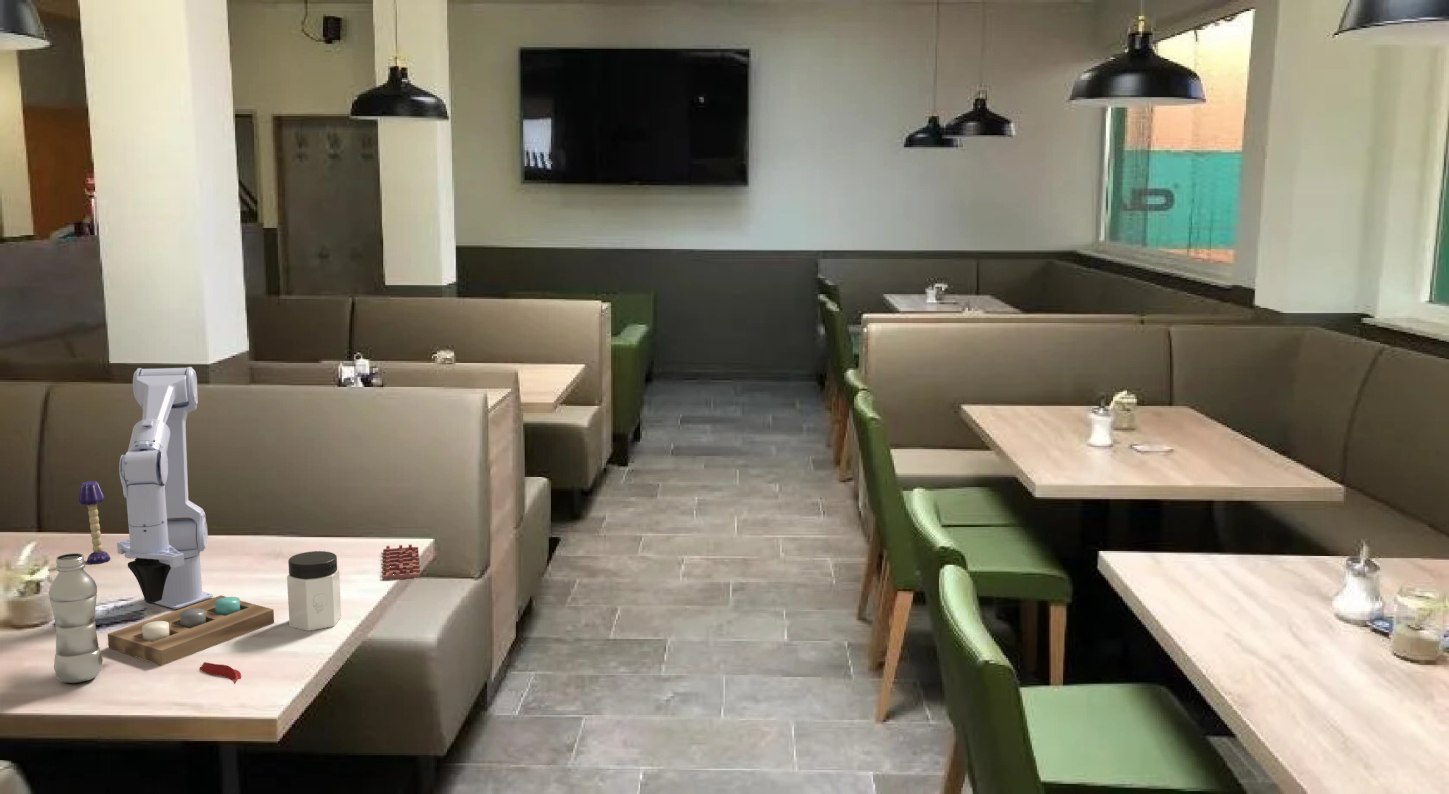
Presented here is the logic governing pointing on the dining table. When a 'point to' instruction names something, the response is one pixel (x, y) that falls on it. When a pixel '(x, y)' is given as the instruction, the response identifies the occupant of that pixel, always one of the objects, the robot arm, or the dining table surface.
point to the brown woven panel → (401, 563)
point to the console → (190, 632)
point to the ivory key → (155, 630)
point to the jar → (313, 590)
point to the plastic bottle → (75, 621)
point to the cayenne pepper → (221, 671)
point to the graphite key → (192, 618)
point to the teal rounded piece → (227, 605)
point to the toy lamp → (93, 519)
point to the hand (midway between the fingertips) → (153, 601)
